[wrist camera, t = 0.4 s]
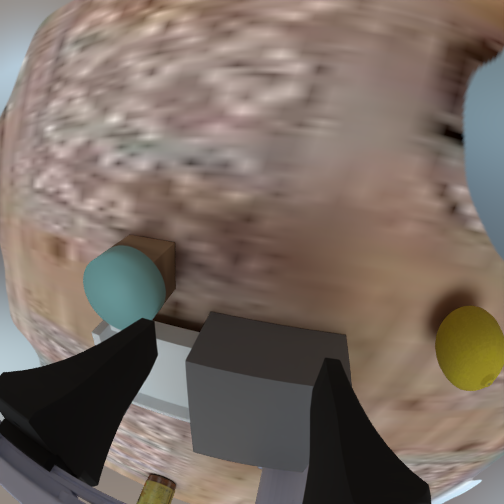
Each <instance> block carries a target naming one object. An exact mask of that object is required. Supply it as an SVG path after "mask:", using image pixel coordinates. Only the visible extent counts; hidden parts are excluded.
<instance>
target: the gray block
mask: <svg viewBox="0 0 504 504" xmlns="http://www.w3.org/2000/svg"><path fill="white" fill-rule="evenodd" d="M325 358H332V359H339V360H340V361H341V363H342V366H343V368H344V370H345V373H346V375H347V377H348V380H349V382H350V384H351V386H352V383H351V373H350V363H349V354H348V346H347V338H346V335H342V334H335V333H328V332H321V331H314V330H308V329H301V328H295V327H289V326H283V325H277V324H272V323H266V322H261V321H255V320H250V319H245V318H240V317H234V316H229V315H225V314H220V313H215V312H210V314H209V316H208V318H207V320H206V321H205V323H204V325H203V327H202V329H201V331H200V333H199V335H198V337H197V339H196V341H195V343H194V345H193V347H192V349H191V351H190V352H189V354H188V356H187V358H186V360H185V367H186V381H187V394H188V406H189V416H190V426H191V435H192V444H193V452H195V453H199V454H203V455H206V456H210V457H214V458H218V459H223V460H227V461H232V462H237V463H241V464H247V465H252V466H258V467H264V468H270V469H278V470H285V471H294V472H304V470H305V469H306V467H307V466H308V464H309V456H310V406H311V397H312V389H313V387H314V384H315V382H316V379H317V377H318V374H319V372H320V369H321V367H322V364H323V361H324V359H325Z"/></svg>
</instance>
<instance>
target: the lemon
mask: <svg viewBox="0 0 504 504" xmlns="http://www.w3.org/2000/svg"><path fill="white" fill-rule="evenodd" d="M435 349H436V356H437V360H438V363H439V366H440V368H441V369H442V371H443V373H444V375H445V376H446V378H447V379H448V380H449V381H450V382H451V383H452V384H453V385H454V386H456V387H457V388H459V389H461V390H466V391H476V390H479V389H482V388H484V387H488V386H490V385H491V384H492V383H493V381H494V380H495V379H496V378H497V376H498V375H499V373H500V372H501V370H502V367H503V365H504V335H503V333H502V331H501V328H500V326H499V324H498V323H497V321H496V320H495V318H494V317H493V316H492V315H491V314H489V313H488V312H487V311H486V310H484V309H482V308H480V307H476V306H463V307H460V308H457V309H456V310H454V311H452V312H451V313H450V314H449V315H448V316H447V317H446V318H445V319H444V320H443V322H442V323H441V325H440V327H439V329H438V332H437V335H436V342H435Z"/></svg>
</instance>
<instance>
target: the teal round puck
mask: <svg viewBox="0 0 504 504" xmlns="http://www.w3.org/2000/svg"><path fill="white" fill-rule="evenodd" d="M83 284H84V290H85V293H86V296H87V298H88V300H89V302H90V304H91V306H92V307H93V309H94V310H95V311H96V313H97V314H98V315H99V316H100V317H101V318H102V319H103V320H104V321H106V322H107V323H108V324H110V325H111V326H113V327H115V328H117V329H119V330H123V329H124V328H126V327H128V326H129V325H131V324H133V323H134V322H136V321H137V320H139V319H141V318H145V319H149V320H152V319H153V318H154V317H155V315H156V314H157V313H158V311H159V310H160V309H161V308H162V306H163V304H164V301H165V297H166V289H165V284H164V280H163V277H162V275H161V273H160V271H159V270H158V268H157V267H156V265H155V264H154V263H153V262H152V260H151V259H150V258H149V257H147V256H146V255H145V254H144V253H142V252H141V251H139V250H137V249H135V248H133V247H129V246H124V245H118V246H114V247H111V248H110V249H108V250H107V251H105V252H104V253H102V254H101V255H100V256H98V257H97V258H95V259H94V260H93V261H91V262H90V263H89V264H88V266H87V267H86V269H85V272H84V277H83Z"/></svg>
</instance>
